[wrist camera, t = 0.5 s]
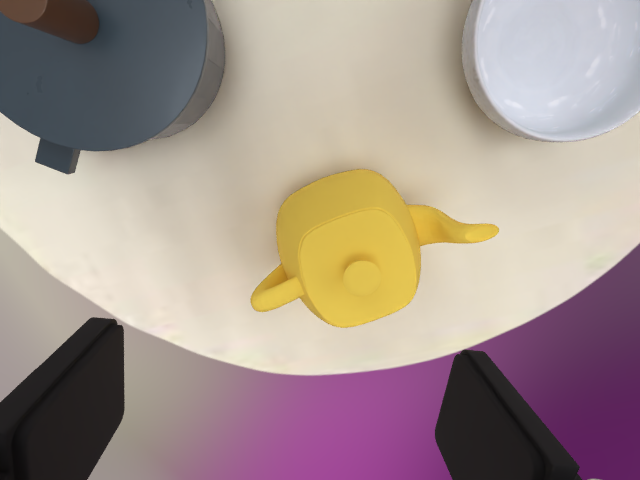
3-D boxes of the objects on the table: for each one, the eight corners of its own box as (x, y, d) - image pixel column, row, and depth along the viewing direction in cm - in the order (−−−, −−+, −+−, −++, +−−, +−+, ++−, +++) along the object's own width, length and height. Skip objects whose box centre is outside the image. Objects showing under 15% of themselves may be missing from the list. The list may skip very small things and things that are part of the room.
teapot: (456, 254, 42) (520, 306, 30) (284, 316, 43) (279, 391, 31) (423, 134, 38) (481, 139, 26) (234, 205, 39) (207, 242, 27)
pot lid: (-66, 90, 27) (-181, 80, 20) (-21, -185, 23) (-146, -307, 16) (168, 185, 29) (133, 202, 23) (246, -45, 25) (229, -102, 19)
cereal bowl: (631, -65, 34) (715, -112, 27) (607, 131, 39) (673, 132, 32) (441, -49, 33) (479, -93, 27) (441, 147, 38) (472, 152, 31)
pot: (18, 124, 35) (-71, 124, 27) (75, -132, 30) (-13, -234, 22) (183, 190, 38) (150, 210, 29) (261, -34, 33) (249, -90, 24)
